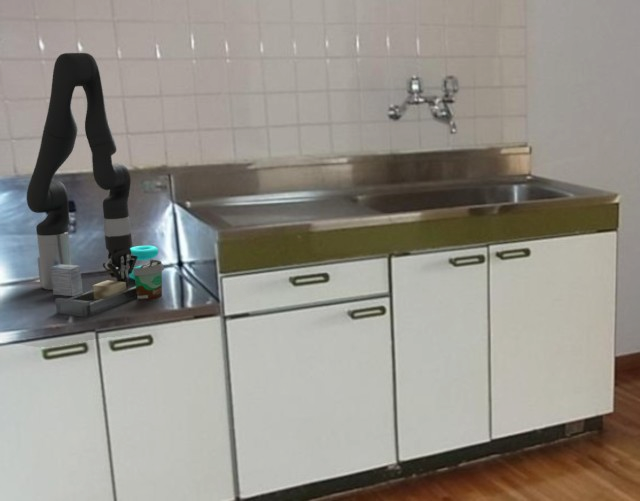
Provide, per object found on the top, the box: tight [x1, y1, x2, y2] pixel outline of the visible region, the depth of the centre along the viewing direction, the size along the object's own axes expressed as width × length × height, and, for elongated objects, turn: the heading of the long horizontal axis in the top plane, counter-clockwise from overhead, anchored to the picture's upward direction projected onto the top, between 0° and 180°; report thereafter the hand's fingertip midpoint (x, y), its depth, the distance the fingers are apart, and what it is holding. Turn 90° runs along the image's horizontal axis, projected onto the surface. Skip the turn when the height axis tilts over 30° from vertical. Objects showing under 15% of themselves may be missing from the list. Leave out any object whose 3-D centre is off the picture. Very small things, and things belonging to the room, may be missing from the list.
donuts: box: [128, 244, 159, 281], centre depth 241 cm, size 10×10×10 cm
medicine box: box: [51, 264, 84, 297], centre depth 223 cm, size 8×4×9 cm, turn 65°
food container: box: [133, 259, 165, 302], centre depth 217 cm, size 12×6×10 cm, turn 168°
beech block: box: [92, 280, 128, 299], centre depth 215 cm, size 7×6×4 cm
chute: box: [55, 285, 138, 318], centre depth 212 cm, size 11×24×4 cm, turn 154°
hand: (123, 289), depth 220 cm, fingers closed
